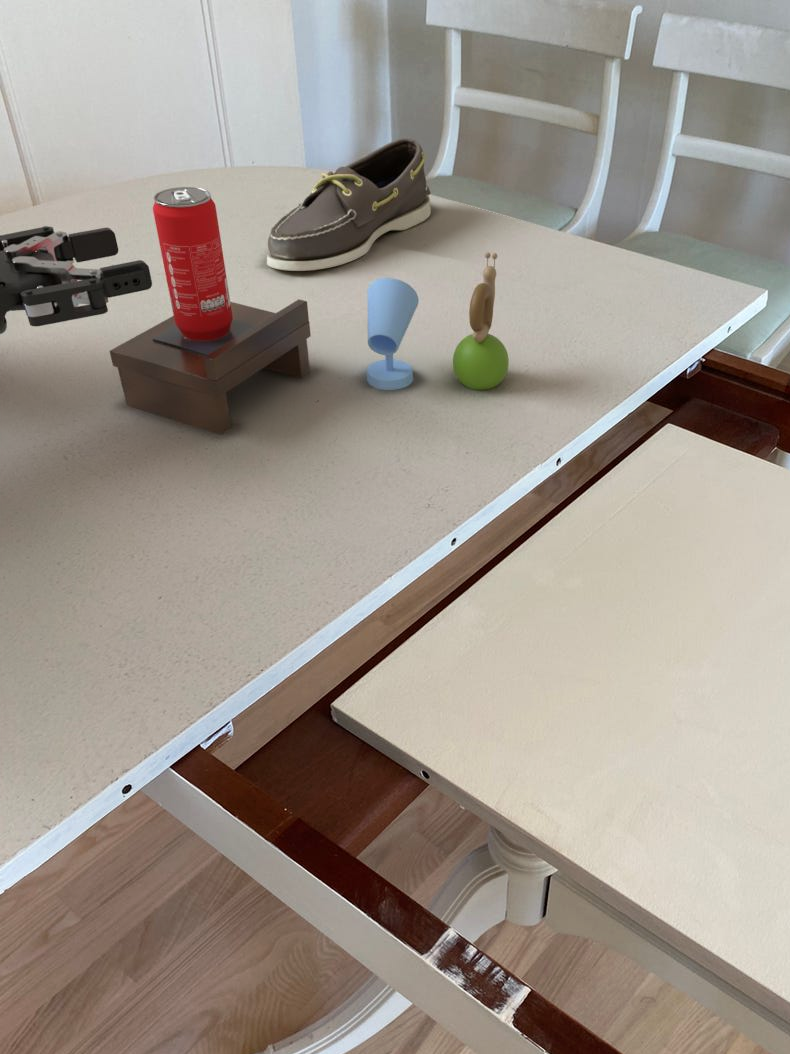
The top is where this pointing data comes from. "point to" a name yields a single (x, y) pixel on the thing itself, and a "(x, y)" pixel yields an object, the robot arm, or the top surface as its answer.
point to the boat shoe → (353, 209)
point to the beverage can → (193, 262)
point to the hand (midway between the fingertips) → (131, 256)
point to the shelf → (210, 363)
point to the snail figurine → (481, 340)
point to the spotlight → (389, 331)
